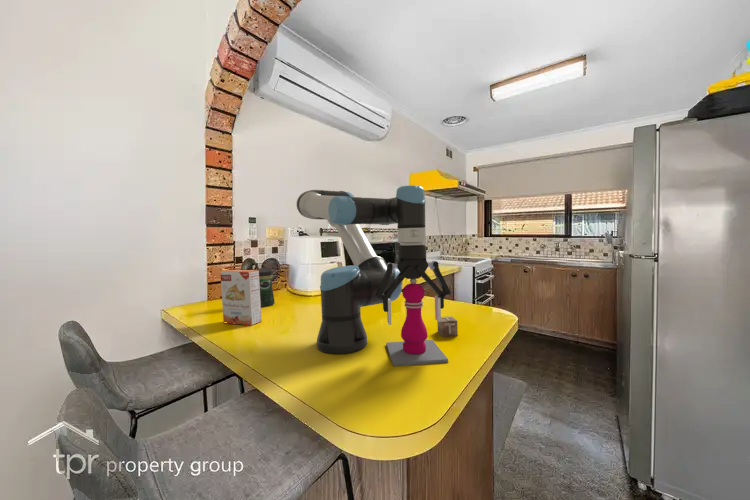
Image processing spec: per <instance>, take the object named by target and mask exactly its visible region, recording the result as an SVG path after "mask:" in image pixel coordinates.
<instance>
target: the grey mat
mask: <svg viewBox="0 0 750 500" xmlns="http://www.w3.org/2000/svg"><path fill="white" fill-rule="evenodd" d="M404 342H405V341H404V340H403V341H393V342H391V341H389V342H386V343H385V346H386V349H387V352H388V353H389V354H388V355H389V358H390V360H391V362H392V365H393V367H401V366H403V367H404V366H414V365H430V364H441V363H449V358H448V357H447V356H446V355H445V353H444V352H443V351H442V349H440V347H439V346H438V345H437V344H436V342H435V341H434V340H433V339H426V340H425V341H424V342H425V344H426V351H425V352H424V353H422V354H409V353H406V352H405V351H404V350H403V343H404Z"/></svg>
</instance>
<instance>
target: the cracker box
mask: <svg viewBox="0 0 750 500" xmlns="http://www.w3.org/2000/svg"><path fill="white" fill-rule="evenodd" d="M220 283H221V284H220V286H221V287H220V288H221V303H222V304H221V305H222V317H223V318H222V320H223V323H224V322H227V323H226V324H228V323H235V324H234V325H238V324H243V325H242V326H248V325H252V326H255V325H257V324H259V323H261V322H262V307H261V301H260V282H259V270H255V269H227V270H222V271H220ZM256 323H257V324H256ZM254 324H255V325H254Z"/></svg>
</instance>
